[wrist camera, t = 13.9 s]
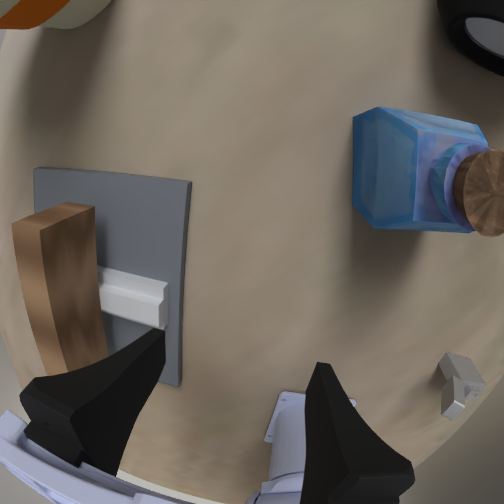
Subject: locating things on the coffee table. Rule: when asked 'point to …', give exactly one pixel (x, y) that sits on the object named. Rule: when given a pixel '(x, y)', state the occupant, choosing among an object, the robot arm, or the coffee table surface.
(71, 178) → the ridge stand
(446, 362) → the grey angular piece
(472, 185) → the perfume bottle
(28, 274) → the walnut bar
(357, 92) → the coffee table surface
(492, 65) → the portable speaker
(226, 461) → the coffee table surface
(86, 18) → the reusable coffee cup
